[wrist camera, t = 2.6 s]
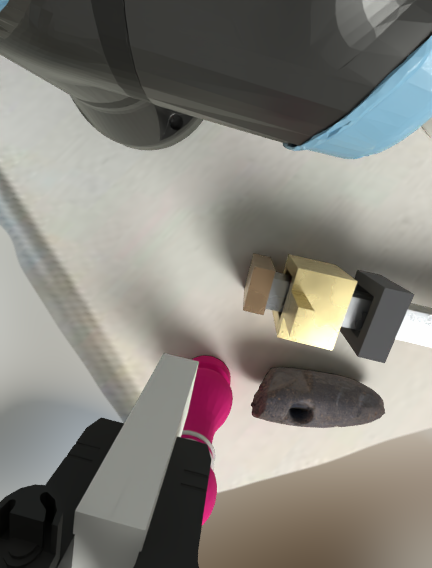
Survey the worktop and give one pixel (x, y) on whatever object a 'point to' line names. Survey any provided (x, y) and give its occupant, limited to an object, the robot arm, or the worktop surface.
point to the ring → (378, 316)
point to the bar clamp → (415, 327)
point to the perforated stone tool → (315, 399)
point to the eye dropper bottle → (428, 127)
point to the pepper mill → (208, 413)
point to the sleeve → (314, 302)
